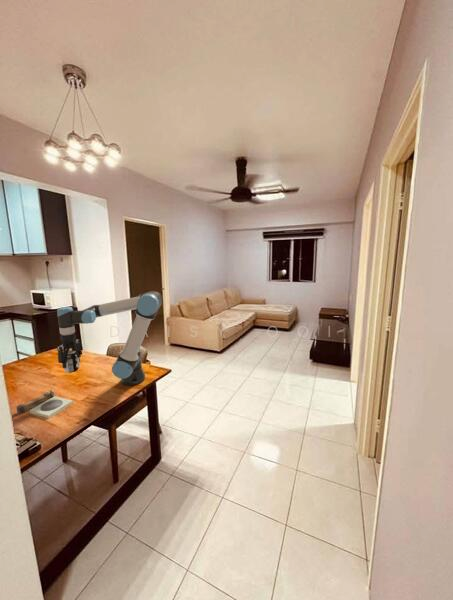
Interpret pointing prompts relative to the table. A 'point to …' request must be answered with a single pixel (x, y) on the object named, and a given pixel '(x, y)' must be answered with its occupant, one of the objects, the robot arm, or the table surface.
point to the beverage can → (72, 361)
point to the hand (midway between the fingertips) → (72, 369)
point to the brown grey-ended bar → (33, 403)
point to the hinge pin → (52, 393)
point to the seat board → (51, 407)
